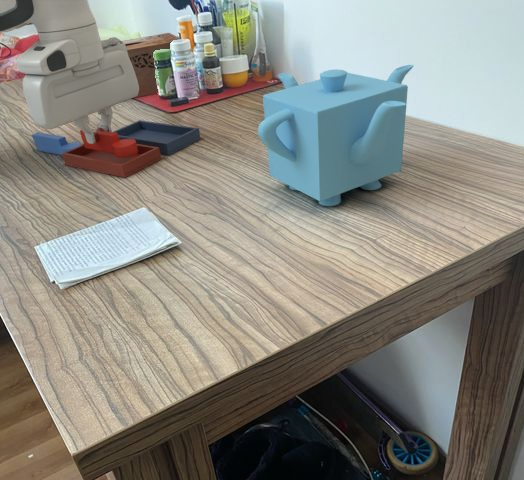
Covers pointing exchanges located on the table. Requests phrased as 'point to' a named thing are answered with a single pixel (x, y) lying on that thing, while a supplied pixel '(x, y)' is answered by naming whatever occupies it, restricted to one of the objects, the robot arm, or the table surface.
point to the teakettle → (335, 132)
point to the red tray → (111, 160)
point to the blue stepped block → (53, 143)
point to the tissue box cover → (146, 59)
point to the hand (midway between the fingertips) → (100, 139)
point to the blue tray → (160, 135)
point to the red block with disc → (112, 144)
